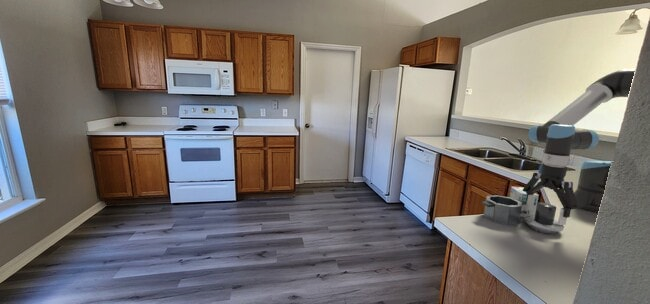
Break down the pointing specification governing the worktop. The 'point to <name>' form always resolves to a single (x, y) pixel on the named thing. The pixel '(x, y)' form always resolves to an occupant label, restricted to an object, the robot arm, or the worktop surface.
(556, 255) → the worktop surface
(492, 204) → the pot
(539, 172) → the perfume bottle
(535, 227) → the lid
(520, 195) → the light bulb box
